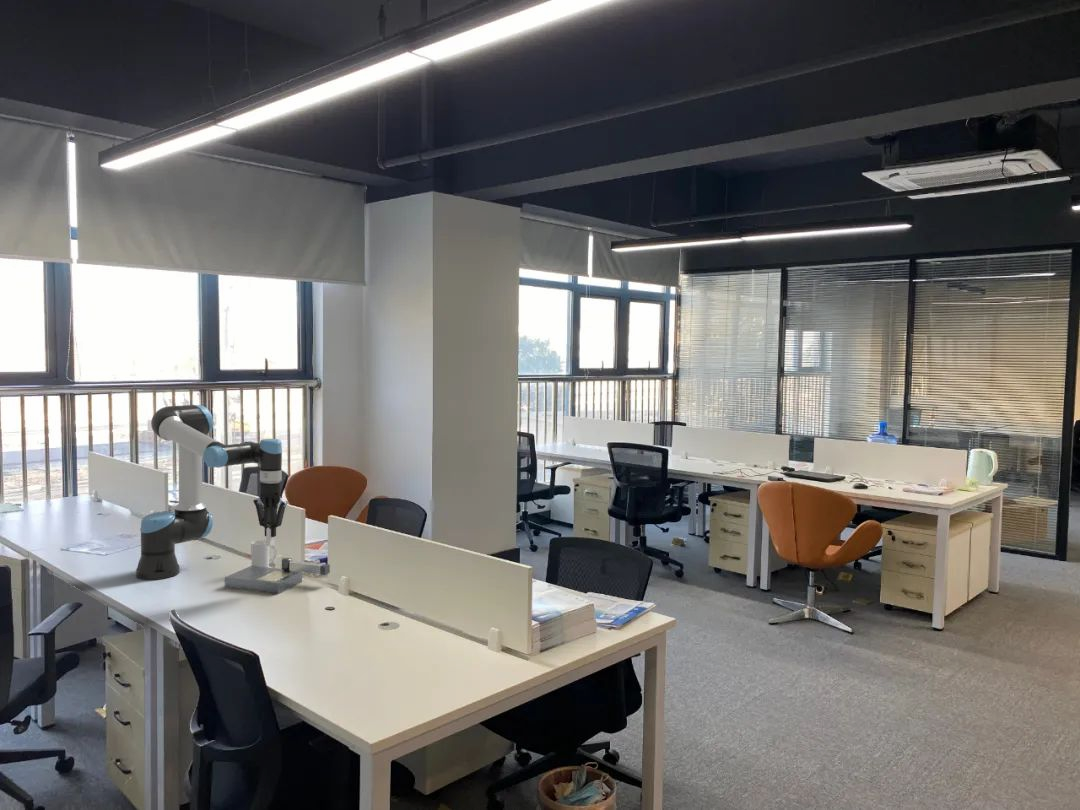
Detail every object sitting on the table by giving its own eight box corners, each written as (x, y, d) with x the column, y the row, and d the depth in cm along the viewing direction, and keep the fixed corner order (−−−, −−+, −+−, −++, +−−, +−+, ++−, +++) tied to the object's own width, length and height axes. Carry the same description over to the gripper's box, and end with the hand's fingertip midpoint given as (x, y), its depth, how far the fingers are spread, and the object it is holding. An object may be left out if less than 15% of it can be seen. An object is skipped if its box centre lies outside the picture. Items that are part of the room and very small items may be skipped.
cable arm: (279, 569, 292) (279, 559, 292) (285, 567, 296) (285, 557, 296) (324, 575, 287) (324, 565, 287) (329, 572, 291) (330, 562, 290)
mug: (255, 575, 299) (255, 545, 299) (248, 571, 304) (248, 541, 304) (280, 571, 306) (280, 541, 305) (272, 567, 311) (273, 538, 310)
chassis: (224, 587, 283) (225, 576, 283) (251, 575, 299) (251, 564, 299) (278, 594, 278) (278, 582, 278) (302, 581, 294) (302, 570, 293)
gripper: (248, 481, 279) (248, 546, 280) (280, 484, 275) (280, 549, 277) (261, 478, 286) (260, 541, 288) (292, 481, 283) (291, 544, 284)
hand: (270, 545), depth 282 cm, fingers closed
